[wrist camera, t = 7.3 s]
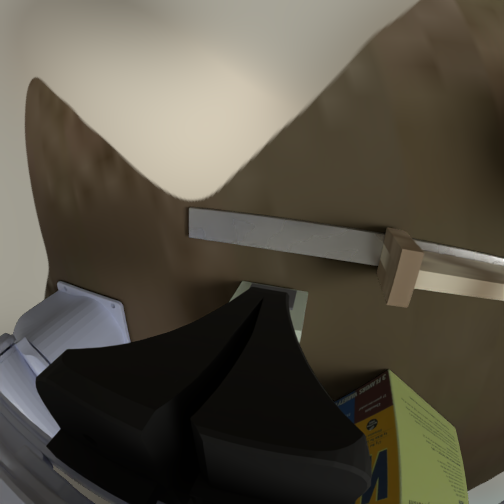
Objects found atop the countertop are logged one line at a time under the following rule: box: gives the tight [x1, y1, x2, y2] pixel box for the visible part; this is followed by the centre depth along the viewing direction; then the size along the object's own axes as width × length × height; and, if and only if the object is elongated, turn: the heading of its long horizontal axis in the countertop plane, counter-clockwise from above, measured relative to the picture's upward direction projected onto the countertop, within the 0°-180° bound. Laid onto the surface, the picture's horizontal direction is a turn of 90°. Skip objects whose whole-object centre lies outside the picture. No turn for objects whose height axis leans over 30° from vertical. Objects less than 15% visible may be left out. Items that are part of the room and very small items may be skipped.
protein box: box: [334, 370, 468, 504], centre depth 15 cm, size 10×15×16 cm
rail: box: [189, 207, 504, 266], centre depth 16 cm, size 26×2×1 cm, turn 87°
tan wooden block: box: [376, 227, 504, 308], centre depth 13 cm, size 12×3×4 cm, turn 87°
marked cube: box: [229, 281, 308, 342], centre depth 18 cm, size 4×5×4 cm
